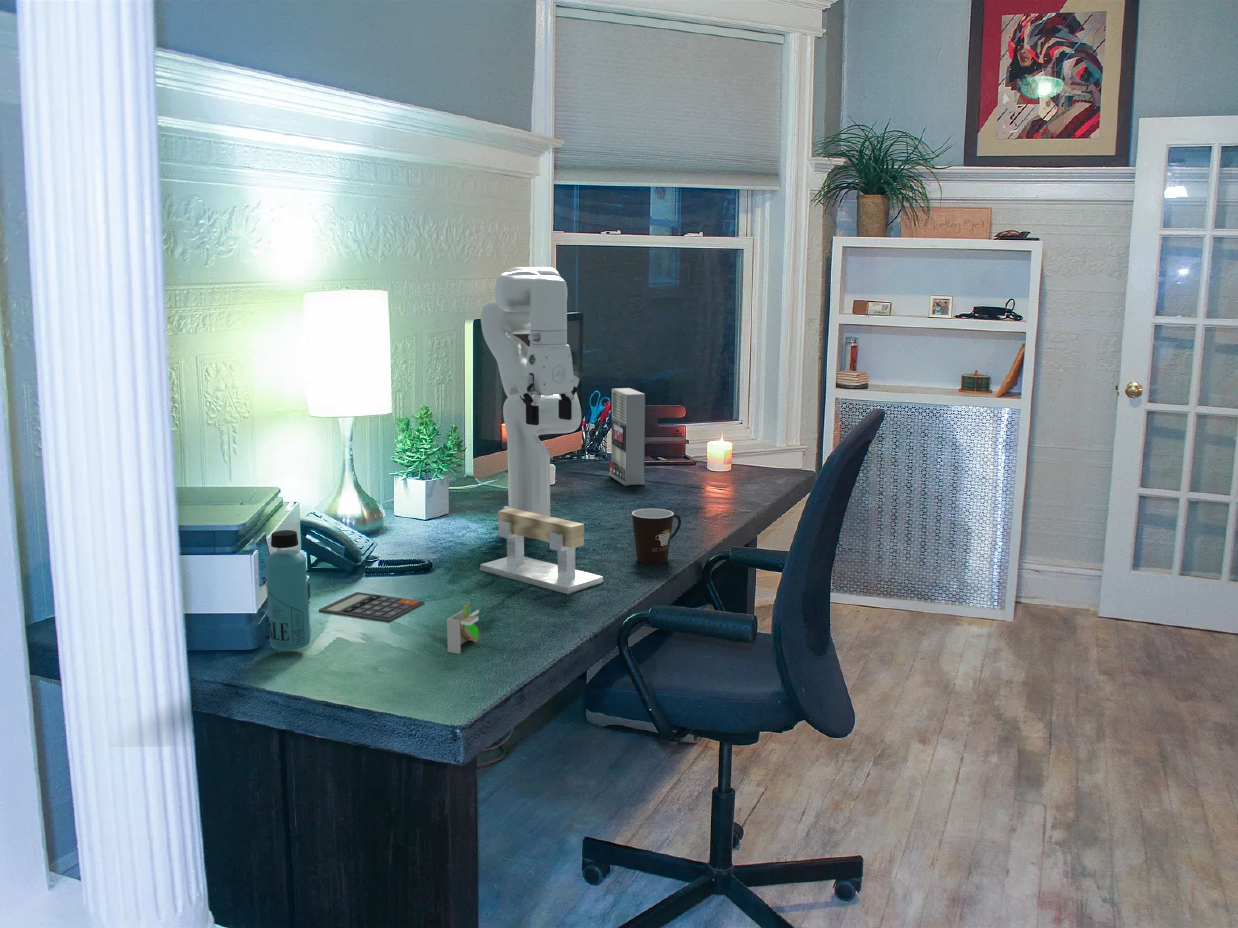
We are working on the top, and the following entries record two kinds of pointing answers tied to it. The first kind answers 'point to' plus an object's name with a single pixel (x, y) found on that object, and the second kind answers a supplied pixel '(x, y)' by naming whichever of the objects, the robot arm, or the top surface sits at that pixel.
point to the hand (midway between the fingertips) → (549, 421)
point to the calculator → (372, 607)
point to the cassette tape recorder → (628, 436)
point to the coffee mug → (653, 534)
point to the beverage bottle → (287, 594)
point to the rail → (542, 526)
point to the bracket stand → (540, 565)
